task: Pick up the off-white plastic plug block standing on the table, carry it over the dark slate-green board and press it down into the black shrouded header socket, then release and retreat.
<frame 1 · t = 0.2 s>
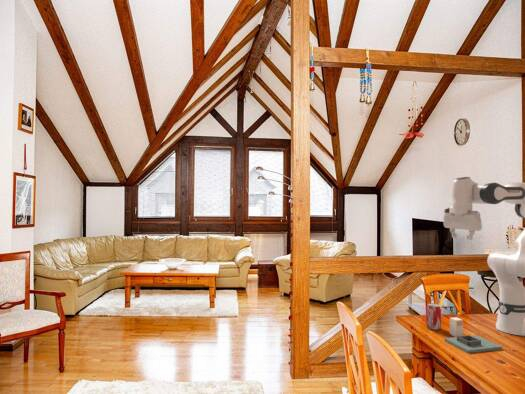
hand: (461, 238, 179), 47 cm above the table, fingers open, 8 cm apart
soda can: (433, 328, 189), on the table
board: (472, 345, 167), on the table
plug: (456, 335, 179), on the table
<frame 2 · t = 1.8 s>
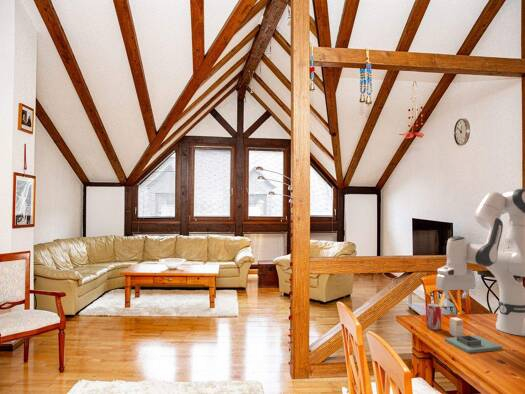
hand: (456, 298, 179), 18 cm above the table, fingers open, 8 cm apart
nothing on the table moved.
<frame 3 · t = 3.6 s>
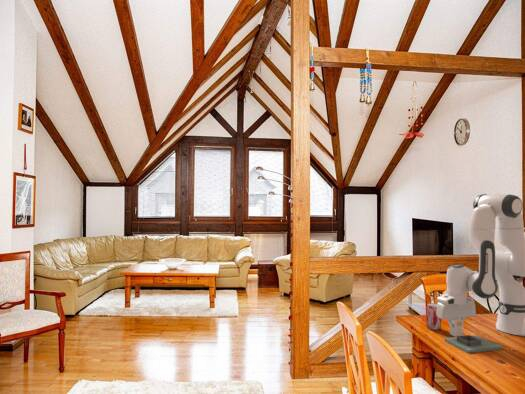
hand: (456, 326, 179), 4 cm above the table, fingers closed on plug, 4 cm apart
plug: (456, 335, 179), on the table, touching gripper
everything else where it was.
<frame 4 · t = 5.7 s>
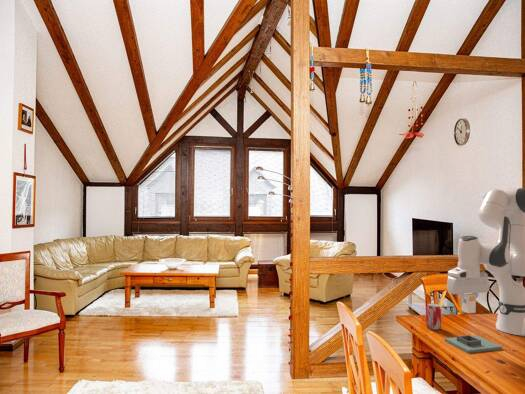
hand: (468, 302, 167), 19 cm above the table, fingers closed on plug, 4 cm apart
plug: (468, 311, 167), point 15 cm above the table, touching gripper
everything else where it was.
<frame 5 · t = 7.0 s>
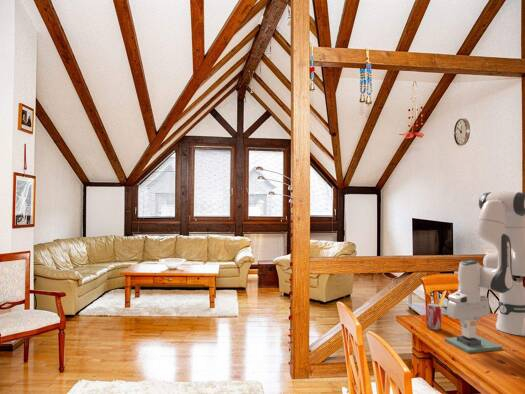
hand: (468, 327, 166), 8 cm above the table, fingers closed on plug, 4 cm apart
plug: (469, 336, 166), point 4 cm above the table, touching gripper
everything else where it was.
when the fingers open (5 cm above the table, at t = 7.9 s): plug stays where it is, resting on board.
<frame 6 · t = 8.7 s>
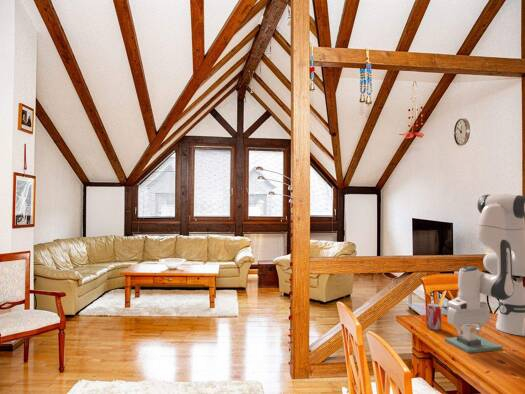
hand: (468, 333, 167), 5 cm above the table, fingers open, 8 cm apart
plug: (469, 342, 166), point 1 cm above the table, touching board
everything else where it was.
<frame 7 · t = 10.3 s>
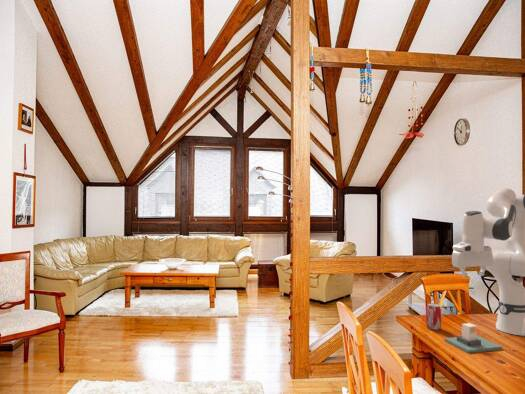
hand: (472, 276, 171), 31 cm above the table, fingers open, 8 cm apart
nothing on the table moved.
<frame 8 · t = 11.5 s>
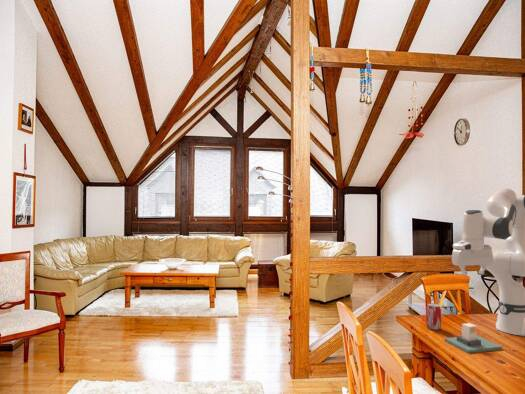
hand: (472, 274, 171), 31 cm above the table, fingers open, 8 cm apart
nothing on the table moved.
at the end: plug 0.1 cm from the target spot on the board, point 1.3 cm above the board's base; plug tilted 0°; the gripper is holding nothing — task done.
